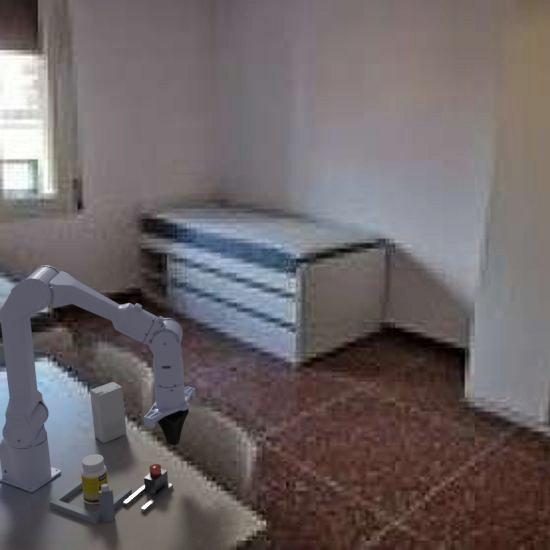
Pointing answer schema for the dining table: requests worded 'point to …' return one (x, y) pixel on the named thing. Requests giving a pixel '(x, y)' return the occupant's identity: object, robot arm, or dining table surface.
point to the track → (152, 501)
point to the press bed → (103, 514)
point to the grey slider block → (155, 480)
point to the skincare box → (108, 412)
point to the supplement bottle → (93, 477)
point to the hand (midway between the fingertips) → (173, 443)
